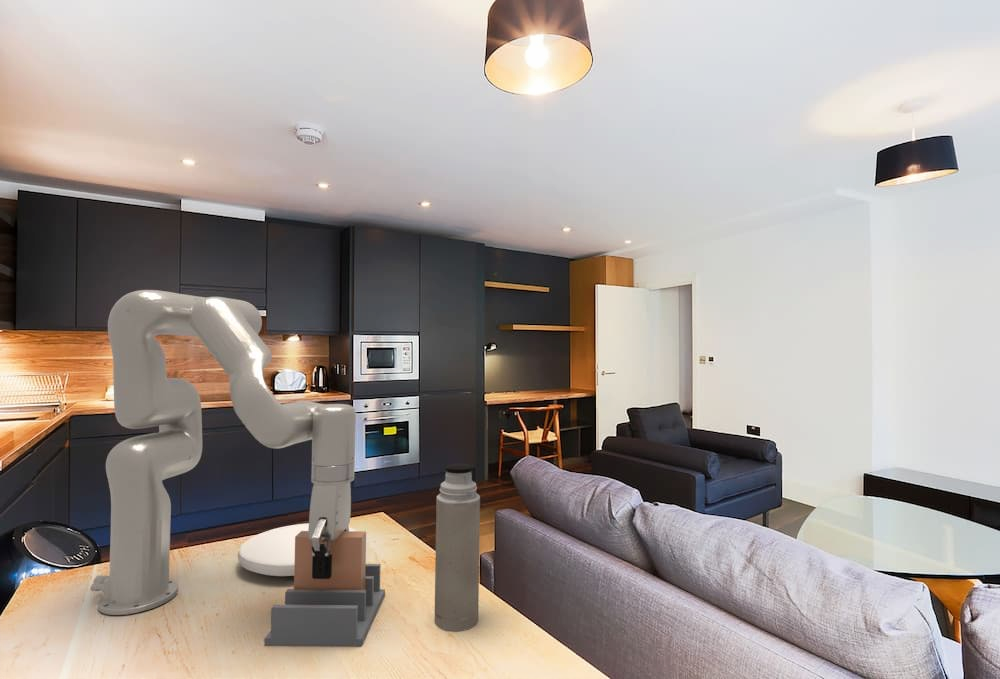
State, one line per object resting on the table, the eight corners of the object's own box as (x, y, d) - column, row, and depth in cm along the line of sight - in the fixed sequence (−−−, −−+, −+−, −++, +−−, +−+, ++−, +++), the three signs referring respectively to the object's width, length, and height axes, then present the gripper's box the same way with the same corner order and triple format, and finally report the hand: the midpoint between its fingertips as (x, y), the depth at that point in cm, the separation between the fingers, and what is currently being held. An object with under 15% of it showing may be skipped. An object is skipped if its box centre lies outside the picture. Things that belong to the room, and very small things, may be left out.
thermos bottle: (429, 612, 95) (432, 462, 95) (470, 605, 98) (472, 459, 98) (440, 635, 87) (443, 471, 88) (484, 626, 90) (486, 468, 91)
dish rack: (264, 645, 84) (265, 607, 84) (304, 594, 101) (305, 563, 101) (361, 646, 84) (362, 608, 84) (384, 595, 101) (385, 564, 101)
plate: (289, 515, 135) (382, 524, 130) (287, 540, 134) (380, 550, 129) (210, 542, 108) (324, 554, 102) (206, 574, 107) (321, 588, 102)
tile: (293, 615, 91) (295, 536, 91) (299, 607, 94) (301, 530, 94) (360, 616, 91) (361, 537, 91) (364, 607, 94) (366, 531, 94)
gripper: (328, 461, 102) (326, 547, 101) (293, 484, 84) (291, 588, 84) (366, 462, 102) (364, 548, 101) (338, 484, 84) (336, 588, 84)
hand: (331, 566), depth 93 cm, fingers open, 9 cm apart
